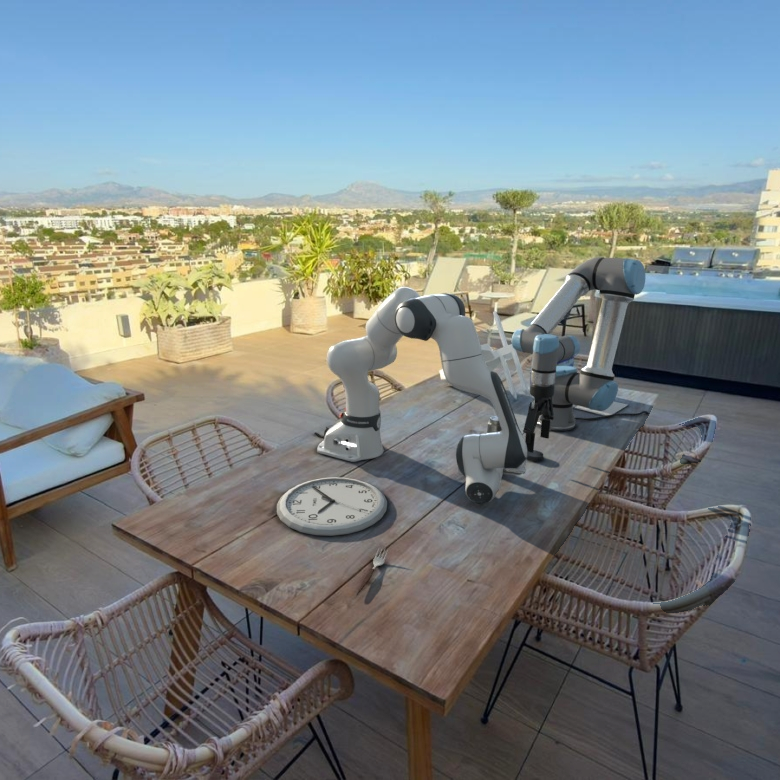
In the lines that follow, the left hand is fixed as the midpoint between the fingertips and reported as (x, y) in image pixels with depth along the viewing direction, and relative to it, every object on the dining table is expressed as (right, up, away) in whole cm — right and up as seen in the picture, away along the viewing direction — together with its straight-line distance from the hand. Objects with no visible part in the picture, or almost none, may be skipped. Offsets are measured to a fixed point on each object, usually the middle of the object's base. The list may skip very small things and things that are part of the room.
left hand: (494, 450), depth 163 cm
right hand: (+16, +1, +10) cm, 19 cm away
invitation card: (+59, +12, +63) cm, 87 cm away
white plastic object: (+9, +18, +80) cm, 82 cm away
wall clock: (-48, -13, -21) cm, 54 cm away
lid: (+15, -3, +11) cm, 19 cm away
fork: (-37, -22, -49) cm, 65 cm away
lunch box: (+43, +19, +85) cm, 97 cm away
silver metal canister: (0, -7, +1) cm, 7 cm away
